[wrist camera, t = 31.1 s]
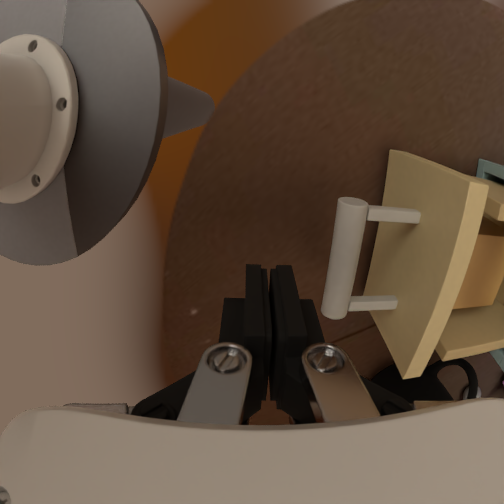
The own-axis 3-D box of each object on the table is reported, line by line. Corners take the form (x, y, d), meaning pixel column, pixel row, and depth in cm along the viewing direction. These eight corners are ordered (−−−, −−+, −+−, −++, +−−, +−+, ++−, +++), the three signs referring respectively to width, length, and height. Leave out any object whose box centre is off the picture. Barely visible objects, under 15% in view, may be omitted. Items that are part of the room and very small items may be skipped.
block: (408, 270, 18) (441, 310, 14) (424, 204, 16) (466, 233, 12) (457, 270, 19) (492, 305, 14) (474, 210, 17) (516, 237, 12)
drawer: (303, 299, 21) (326, 388, 14) (320, 140, 16) (374, 165, 9) (475, 293, 21) (525, 350, 14) (508, 175, 16) (581, 211, 9)
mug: (392, 412, 29) (417, 483, 20) (335, 400, 27) (356, 488, 18) (466, 339, 25) (513, 410, 16) (418, 314, 23) (475, 404, 14)
